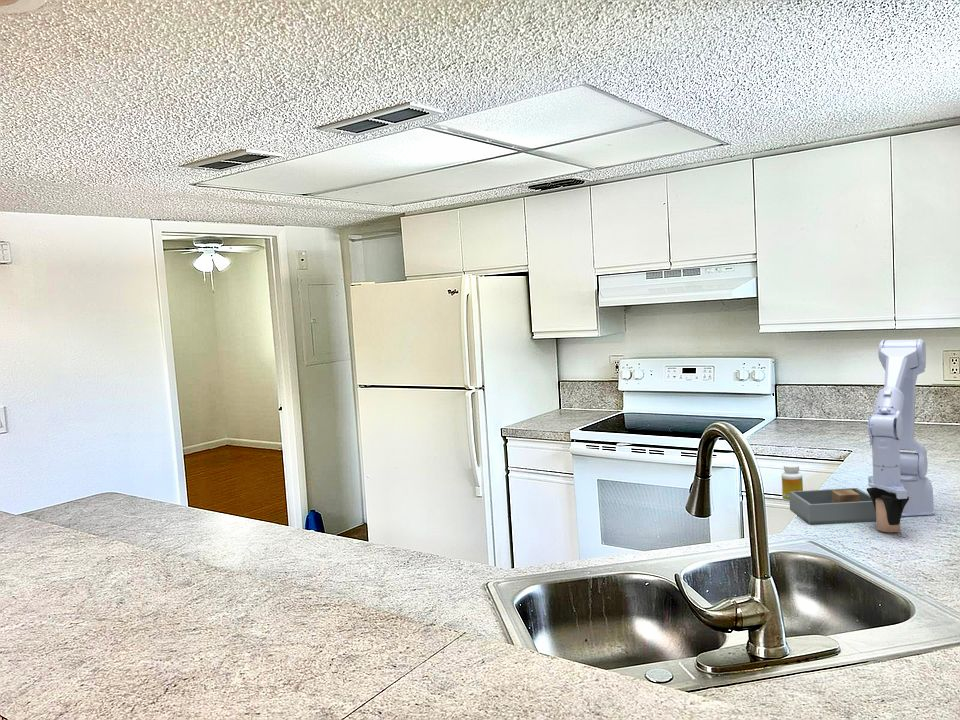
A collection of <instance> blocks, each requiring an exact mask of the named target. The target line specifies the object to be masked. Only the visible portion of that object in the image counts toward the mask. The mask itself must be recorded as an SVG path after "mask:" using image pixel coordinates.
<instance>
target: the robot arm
mask: <svg viewBox="0 0 960 720" xmlns="http://www.w3.org/2000/svg"><path fill="white" fill-rule="evenodd" d="M877 348H878V353H877V356H878V360H879V362H880V364H881V366H882V368H883V369H884V371H885V372H884V385H883V388H881V389H880V390H878V392H877V396H876V401H875V406H874V410H873V415H870V416H869V417H868V421H867V422H868V423H867V433H868V436H869V444H870V445H869V446H871V451H872V453H871V454H872V457H871V458H872V475H869V476H868V477H867V479H868V483H867V486H868V487H867V488H866V493H867V494H869V495H870V497H871V499H872V502H873V504H874V508H875V511H876V499H877V498H882V500H883V502H884V505H885V508H886V513H887V519H888V523H889V525H899V523H900V524H901V520H902V517H911V516H912V517H913V516H928V515H929V516H930V515H936V512H935V511H934V490H933V489H934V488H933V485H932V482H931V480H930V479H929V478H928V477H926V476H927V474H928V465H929V464H928V461H929V460H928V456H927V455H928V454H927V453H928V452H927V449H926V447H925V446H924V445H923V444H921V442H918V441H917V440H916V439H915V424H916V423H915V422H916V421H915V420H916V419H915V418H916V383H917V380H918V376H919V375H920V374H922V373H925V371H926V365H927V363H926V362H927V348H926V342H925V341H924V340H923V339H922V338H918V339H882V340H881V341H880V342H879V345H878V347H877ZM911 451H912V452H911ZM913 451H914V452H913Z"/></svg>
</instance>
